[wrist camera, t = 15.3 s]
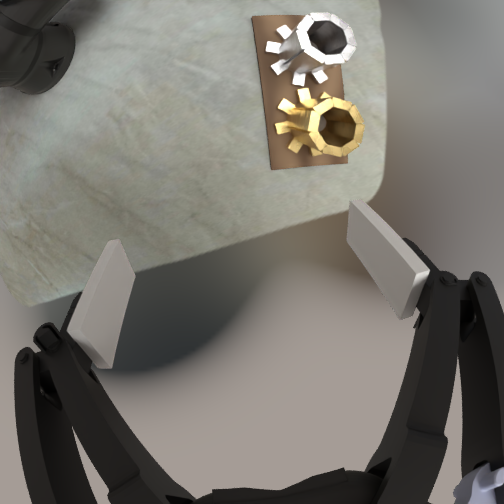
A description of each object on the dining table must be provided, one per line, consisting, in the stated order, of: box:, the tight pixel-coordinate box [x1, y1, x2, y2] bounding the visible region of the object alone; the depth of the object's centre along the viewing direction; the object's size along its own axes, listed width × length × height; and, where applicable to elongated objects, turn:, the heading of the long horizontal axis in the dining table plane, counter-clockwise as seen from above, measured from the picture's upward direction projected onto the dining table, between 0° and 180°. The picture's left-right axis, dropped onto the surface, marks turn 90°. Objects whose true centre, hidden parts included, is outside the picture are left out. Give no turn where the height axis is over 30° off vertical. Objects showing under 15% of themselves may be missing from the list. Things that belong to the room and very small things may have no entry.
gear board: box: [252, 15, 348, 170], centre depth 36 cm, size 14×28×6 cm, turn 7°
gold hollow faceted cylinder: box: [274, 88, 365, 157], centre depth 35 cm, size 11×11×13 cm
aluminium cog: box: [265, 12, 357, 87], centre depth 29 cm, size 11×11×13 cm
